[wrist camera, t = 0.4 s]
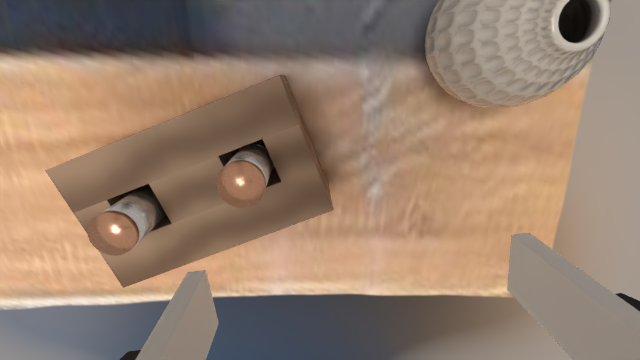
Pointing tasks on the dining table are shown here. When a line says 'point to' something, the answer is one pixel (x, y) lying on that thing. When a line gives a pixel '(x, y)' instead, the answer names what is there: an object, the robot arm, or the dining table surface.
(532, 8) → the vase
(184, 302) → the robot arm
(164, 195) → the socket block
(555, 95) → the dining table surface
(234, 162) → the peg
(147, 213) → the peg
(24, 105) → the dining table surface
